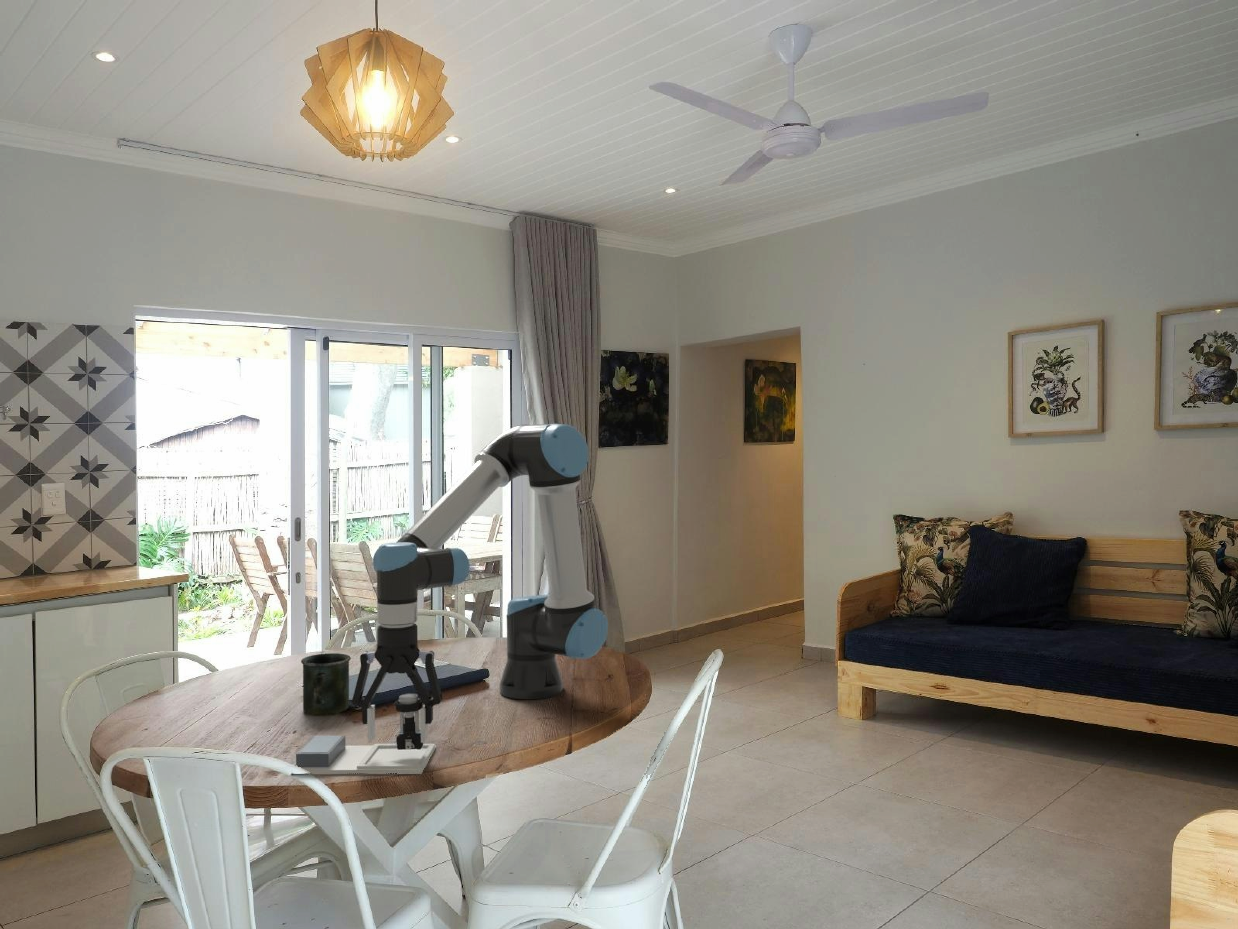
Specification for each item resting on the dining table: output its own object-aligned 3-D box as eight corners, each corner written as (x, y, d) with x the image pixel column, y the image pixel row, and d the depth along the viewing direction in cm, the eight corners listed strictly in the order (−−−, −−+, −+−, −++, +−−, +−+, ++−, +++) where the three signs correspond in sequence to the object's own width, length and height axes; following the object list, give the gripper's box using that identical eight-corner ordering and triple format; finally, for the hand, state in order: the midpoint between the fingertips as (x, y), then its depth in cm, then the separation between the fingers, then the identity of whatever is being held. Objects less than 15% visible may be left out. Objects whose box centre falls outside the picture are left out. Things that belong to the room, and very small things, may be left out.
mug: (354, 703, 216) (354, 652, 215) (343, 721, 201) (342, 667, 201) (307, 704, 214) (307, 653, 214) (292, 723, 200) (291, 668, 200)
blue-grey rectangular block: (345, 748, 180) (345, 735, 180) (328, 767, 169) (328, 753, 169) (314, 748, 180) (314, 735, 180) (296, 767, 169) (296, 753, 169)
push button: (386, 753, 172) (384, 700, 172) (392, 744, 178) (390, 693, 178) (421, 752, 173) (419, 699, 172) (426, 743, 178) (425, 691, 178)
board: (435, 749, 182) (435, 742, 182) (421, 774, 168) (421, 767, 168) (314, 749, 182) (314, 743, 182) (290, 774, 168) (290, 767, 168)
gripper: (458, 620, 179) (458, 734, 179) (345, 620, 178) (345, 734, 179) (452, 627, 171) (452, 746, 172) (333, 627, 171) (334, 747, 171)
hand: (397, 740), depth 175 cm, fingers open, 9 cm apart
